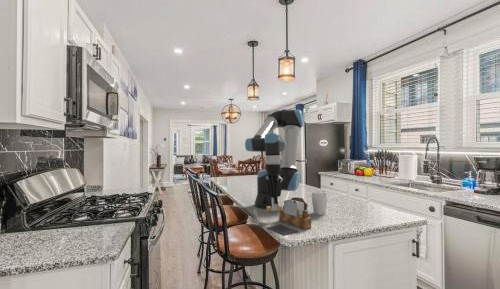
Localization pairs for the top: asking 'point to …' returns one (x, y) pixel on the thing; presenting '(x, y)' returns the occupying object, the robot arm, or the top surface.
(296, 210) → the grey block
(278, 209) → the lever
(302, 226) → the plane body
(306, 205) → the rock
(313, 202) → the cup
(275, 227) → the mat
